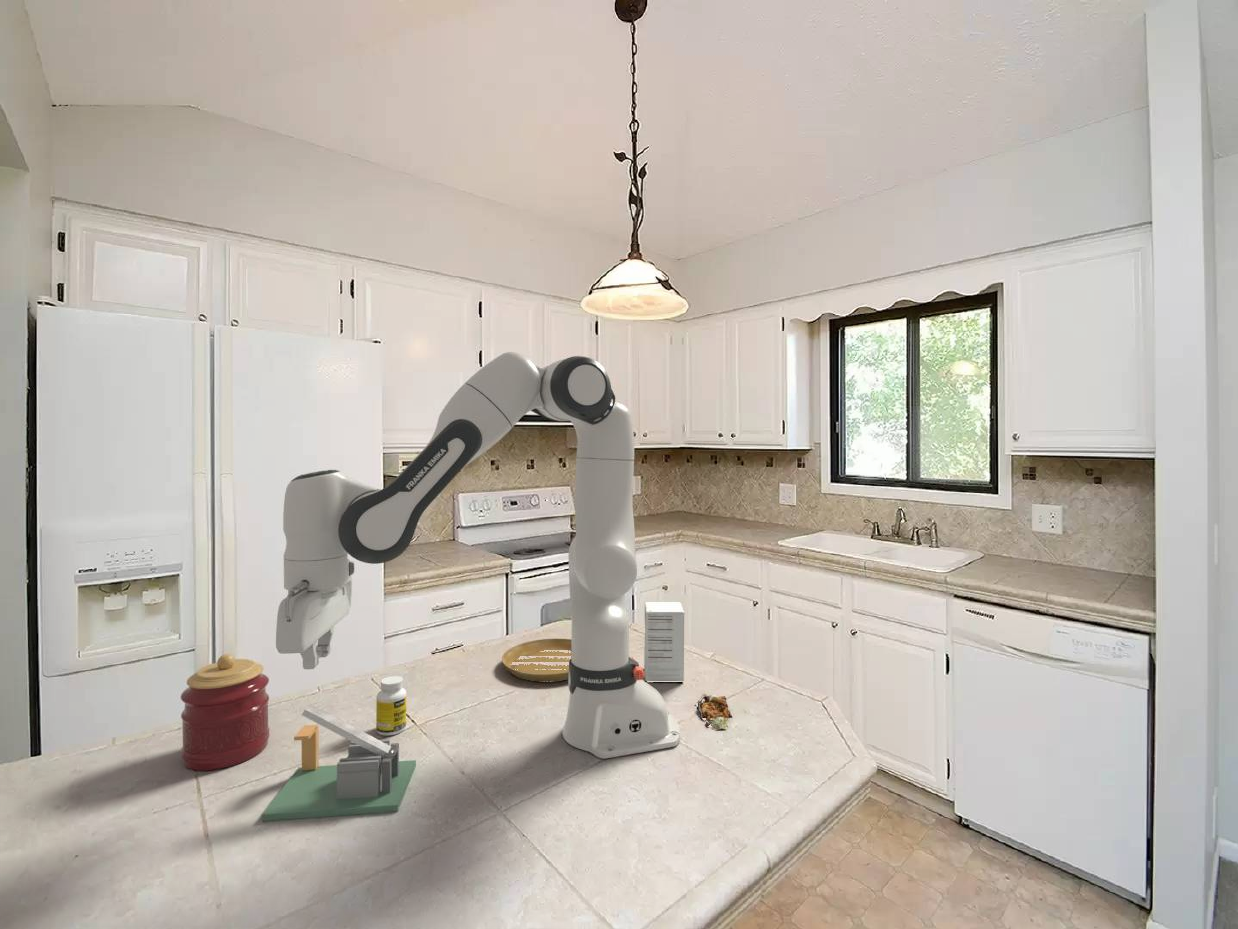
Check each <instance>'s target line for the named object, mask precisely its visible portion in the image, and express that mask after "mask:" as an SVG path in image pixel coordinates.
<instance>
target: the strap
mask: <svg viewBox="0 0 1238 929" xmlns="http://www.w3.org/2000/svg"><path fill="white" fill-rule="evenodd" d="M301 716H303V717H305V718H306V719H309V720H310V721H312V722H314V723H316V724H317V725H320V726H321V727H324V728H325V729H327V730H329V731H331V732H333V733H335V734H337V735H338V736H341V737H342V738H345V739H346V740H348V741H350V742H354V743H356V744H358V745H359V746H361V747H363V748H365V749H367V750H369V751H371V752H373V753H375V754H377V755H378V756H381V757H382V758H384V759H386V758H391V762H392V760H393V758H394V756H395V754H396V752H397V750H398V748H397V746H396V745H391V744H390V745H391V746H389V745H387V744H385V743H384V742H382V741H380V740H381V739H377V738H375V737H374V736H372V735H371V734H369V733H366V732H365V731H364V730H363V731H362V730H361V729H359V728H357V727H355V726H354V725H352V724H350V723H348V722H345V721H344V720H342V719H341V718H338V717H336V716H335V715H333V714H331V713H328V712H327V711H325V710H323V709H321V708H320V707H317V706H316V705H314V704H312V703H310V704H308V705H307V707H306V708H305V709H304V710H303V711H302V714H301Z"/></svg>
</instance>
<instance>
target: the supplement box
mask: <svg viewBox="0 0 1238 929" xmlns="http://www.w3.org/2000/svg"><path fill="white" fill-rule="evenodd" d="M643 658H644V659H643V660H644V661H643V662H644V664H643V666H644V667H643V671H644V674H645V675H644V681H685V678H684V677H685V611H684V609H683V606H682V603H681V602H678V601H677V602H676V601H669V602H668V601H664V602H663V601H662V602H661V601H660V602H659V601H645V602H644V652H643Z"/></svg>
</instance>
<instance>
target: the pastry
mask: <svg viewBox="0 0 1238 929" xmlns="http://www.w3.org/2000/svg"><path fill="white" fill-rule="evenodd" d="M697 703H698V708H697V709H698V712H699V713H700V715H701V716H700V718H706V720H705V721H706V725H707V726H709V725H710V724H711V726H712V727H711V728H712V729H711V728H710V729H711V730H713V731H718V730H722V729H723V730H726V727H728V725H729V726H730V724H729V720H728V719H729V718H730V717H731V715H732V712H731V711H730V710H728V709H729V705H728V702H727V697H726V696H725V695H723V696H717V695H716V694H711V695H708V694H706V693H702V694H701V696H700V697H699V699H698V700H697ZM705 721H704V722H705ZM706 725H705V726H706ZM707 726H706V727H707ZM726 731H727V730H726Z"/></svg>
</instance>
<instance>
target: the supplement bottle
mask: <svg viewBox="0 0 1238 929" xmlns="http://www.w3.org/2000/svg"><path fill="white" fill-rule="evenodd" d="M403 682H404V680H403V677H402V676H397V675H391V676H388V677H387V676H386V677H384V678H382V679H381V680H380V690H379V691H378V692H377V695H376V722H375V723H376V724H375V725H376V728H375V729H376V733H377V734H378V735H380V736H383V737H384V736H385V737H389V736H395V735H398V734H400V733H402V732H404V730H406V728H407V691H406V689H405V688H404V687H403V685H404V683H403Z"/></svg>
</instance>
